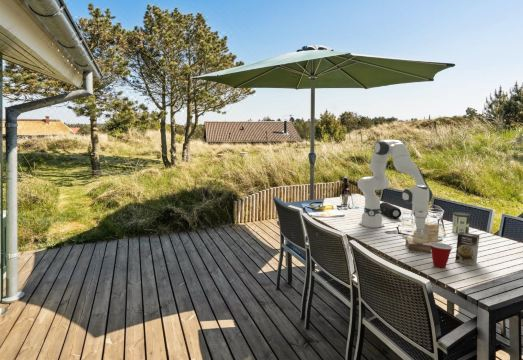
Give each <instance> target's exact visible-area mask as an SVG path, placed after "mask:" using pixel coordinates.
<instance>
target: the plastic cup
mask: <svg viewBox="0 0 523 360" xmlns="http://www.w3.org/2000/svg"><path fill="white" fill-rule="evenodd" d="M430 246H431V259H432V265H433V266H434V267H435V268H437V269H445V268H446V267H447V265H448V264H447V263H448V261H449V257H450V254H451V251H452V250H453V248H454V246H452V245H450V244H447V243H443V242H438V243H436V242H432V243H430Z"/></svg>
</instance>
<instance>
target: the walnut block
mask: <svg viewBox="0 0 523 360" xmlns="http://www.w3.org/2000/svg"><path fill="white" fill-rule="evenodd" d="M405 246H406V249H407V250H409V251H408V252H414V251H416V253H427V254H428V253H429V254H432V252H431V246H430V243H429V242H428V240H427V239H423V243H416V242H414V241H413V237H405Z"/></svg>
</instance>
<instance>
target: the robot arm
mask: <svg viewBox="0 0 523 360" xmlns="http://www.w3.org/2000/svg"><path fill="white" fill-rule="evenodd" d="M390 156H391V159H392V163H393V167H394V168H395V169H396V170H397V171H398V172H401V173H403V174H406V175H409V176H410V177H411V178H413V179H414V182H415V185H414V186H412V187H409V188H407V187H406V188H404V190H403V191H402V192H401V199H402V201H403V202H404V203H406V204H412V206H411V207H412V208H411V215H413V217H414V223H415V227H416V228H415V229H416V230H415V231H418V232H417V235H418V236H421V231H423V230H424V226H425V223H426V221H427V220H426V219H427V218H428V215H429V208H430V207H429V203H430V202H431V201H432V200H433V197H434V194H433V192H432V190H431V188H430V187H429V185H428V184H427V182H426V180H425V177H424V176H423V173H422V171H421V169H420V167H419V166H418V165H417V164H415V162H414V161H413V160H412V157H411V154H410V151H409V149H408V148H407V145H406V142H405V141H403V140H396V139H381V140H377V141H376V142H375V144H374V147H373V153H372V155H371V161H370V163H369V164H370V165H369V170H370V171H371V172H372V176H364V177H361V178H359V179H358V180H357V188H358V189H359V190H360V191H361V192H362V194H363V196H364V208H363V212H362V213H361V220H360V221H359V222H358V224H359V225H362V226H363V227H366V228H373V229H374V228H381V227H383V228H385V224H384V223H383V215H382V214H381V211H380V204H381V197H380V196H378V195H377V194H376V191H381V190H384V189H387V188H389V185H390V180H389V179H388V177H387V176H386V167H387V165H388V159H389V157H390Z"/></svg>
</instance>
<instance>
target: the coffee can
mask: <svg viewBox="0 0 523 360" xmlns="http://www.w3.org/2000/svg"><path fill="white" fill-rule="evenodd" d="M452 214H453V215H452V228H451V232H452V234H454V235H455V234H456V235H458V233H459V232H465V233H470V223H471V222H470V221H471V220H470V218H471V214H470V213H468V212H462V211H461V212H459V211H454V212H452Z"/></svg>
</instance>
